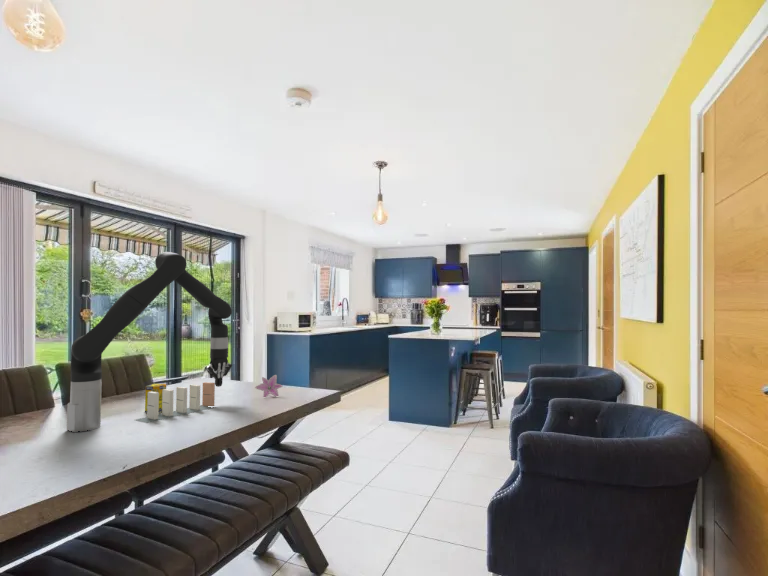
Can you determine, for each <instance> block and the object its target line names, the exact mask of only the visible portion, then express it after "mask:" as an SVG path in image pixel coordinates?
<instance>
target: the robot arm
mask: <svg viewBox="0 0 768 576" xmlns="http://www.w3.org/2000/svg"><path fill="white" fill-rule="evenodd" d="M154 262H155V263H154V264H155V267H156V270H155V271H154V272H153V273H152V274H151V275H150V276H148V277H147V278H145V279H143V280H142V281H140V282H139V283H136V284H135V285H133V286H131V287H130V288H129V289H127V290H126V291H125V292H124V293H123V294H122V295H121V296H120V297H119V298H118V299H117V300H116V301H115V302H114V303H113V304H112V306H111V307H110V308H109V309H108V311H107V312H106V313H105V315H104V316H103V318H102V319H101V320H100V321H99V322H98V323H97V324H96V325H95V326H94V327H93V328H91V329H90V330H89V331H87V332H86V333H85V334H84V335H82V336H79V337H77V338H76V339H75V340H73V342H72V344H71V347H70V348H71V350H70V391H69V392H70V396H69V402H68V403H67V404H66V406H67V410H66V431H68V430H69V431H70V432H71V431H72V432H71V433H79V432H78V431H80V432H87V430H88V431H92V430H94V429H98V428H100V427H101V422H102V421H101V420H102V419H101V417H102V415H101V414H102V384H103V383H102V378H103V371H102V370H103V369H102V360H103V359H102V358H103V357H102V354H103V352H105V350H106V348H107V347H108V346H109V345H110V344H111V342H112V341H114V339H115V337H116V336H118V334H120V333H121V332H122V331H123V330H124V329H125V328H127V326H130V324H131V323H132V322H133V321H135V320H136V319H137V318H138V317H139V316H140V315H141V314H142V313H143V312H144V311H145V310H146V309H147V308H148V307H149V305H151V303H152V302H154V300H155V299H156V298H157V297H159V295H161V293H162V292H163V291H164V290H165V288H167V287H168V286H169V285H171V284H172V283H173V282H176V283H177V284H178V285H179V286H180V287H181V288H182V289H184V290H185V291H186V292H187V293H188V294H189V295H190V296H192V297H193V299H195V300H196V301H197V302H198V303H199V304H200V305H201V306H202V307H204V308H206V309H208V311H207V313H208V314H207V315H208V321H209V324H210V327H211V330H210V331H211V332H210V333H211V337H210V351H209V353H210V361H209V365H208V366H204V368H205V370H206V372H207V373H208V374H209V376H210V377H211V378H214V383H215V387H217V388H218V387H219V388H220V387H222V385H223V378H224V377H226V376H227V375H228V373H229V371H231V368H232V366H233V364H232V363H229V360H228V357H229V326H228V325H227V324H225V323H224V322H223V320H226V319H228V318H230V317H231V316H232V314H233V309H232V307H231V305H230V304H229V303H228V302H227V301H225V299H222V298H221V297H219V296H217V295H216V294H215V293H214V292H213V291H212V290H211V289H210V288H209V287H208V286H206V285H205V284H204V283H203V282H202V281H200V280H199V279H197V278H196V277H195V276H194V275H192V274H191V273H189V272H188V270H186V268H187V259H186V258H185V257H184V256H183V255H181V254H179V253H176V252H171V251H164V252H161V253H159V254H158V255H157V256H156V258H155V261H154ZM69 431H68V432H69Z"/></svg>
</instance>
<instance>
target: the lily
mask: <svg viewBox="0 0 768 576" xmlns="http://www.w3.org/2000/svg"><path fill="white" fill-rule="evenodd" d="M277 379H278V375H277V374H274V375H272V376H271V377H270V378H269V379H267V378H266V377H263V376H262V377H261V380H262V383H261V384H258V385H256V386H255V387H254V389H256V390H258V391H263V396H262V397H266V398H267V397H268V396H269V395H272V396H273V397H275V396H279V391H278V390H279V389H281V388H283V385H282V384H279V383H277ZM279 397H280V396H279Z"/></svg>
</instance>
